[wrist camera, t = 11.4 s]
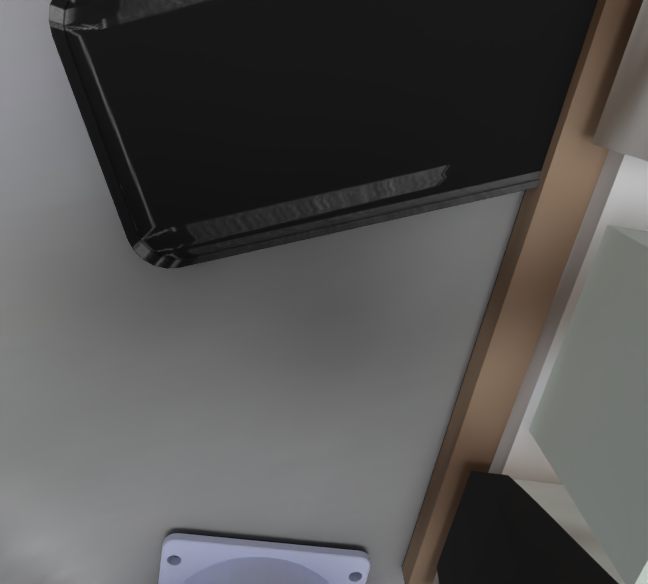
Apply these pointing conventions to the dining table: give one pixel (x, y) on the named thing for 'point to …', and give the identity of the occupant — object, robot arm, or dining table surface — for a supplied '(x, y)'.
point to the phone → (311, 110)
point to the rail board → (548, 285)
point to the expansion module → (605, 403)
